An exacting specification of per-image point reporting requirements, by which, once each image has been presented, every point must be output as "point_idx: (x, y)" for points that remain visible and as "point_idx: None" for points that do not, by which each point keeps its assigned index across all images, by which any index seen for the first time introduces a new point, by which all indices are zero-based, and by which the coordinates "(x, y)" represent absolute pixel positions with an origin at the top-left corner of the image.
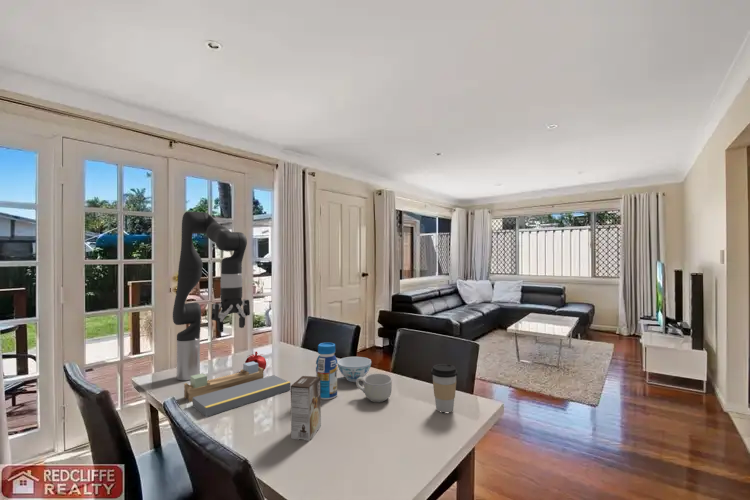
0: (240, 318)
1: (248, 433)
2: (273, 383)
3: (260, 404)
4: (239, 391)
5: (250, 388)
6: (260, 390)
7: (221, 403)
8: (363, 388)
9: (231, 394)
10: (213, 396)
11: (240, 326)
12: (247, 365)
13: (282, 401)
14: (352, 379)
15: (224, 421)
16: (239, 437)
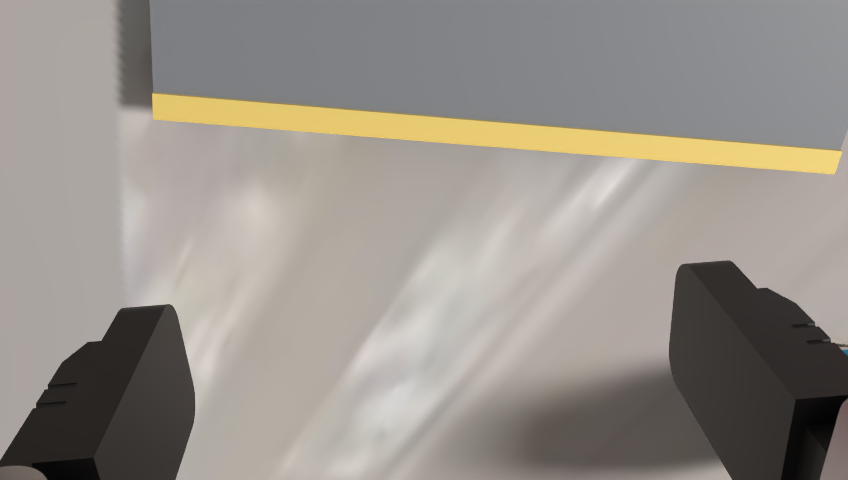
0: (773, 449)
1: (262, 444)
2: (755, 82)
3: (511, 201)
4: (482, 14)
5: (577, 26)
6: (587, 141)
7: (268, 127)
8: None
9: (406, 20)
10: None
11: (682, 318)
12: None
13: (624, 268)
14: None
15: (231, 245)
16: (212, 446)
